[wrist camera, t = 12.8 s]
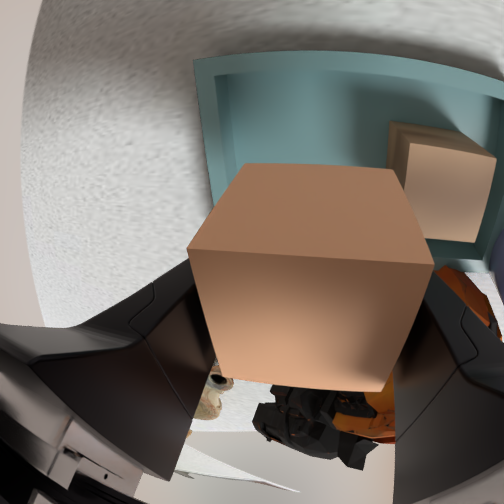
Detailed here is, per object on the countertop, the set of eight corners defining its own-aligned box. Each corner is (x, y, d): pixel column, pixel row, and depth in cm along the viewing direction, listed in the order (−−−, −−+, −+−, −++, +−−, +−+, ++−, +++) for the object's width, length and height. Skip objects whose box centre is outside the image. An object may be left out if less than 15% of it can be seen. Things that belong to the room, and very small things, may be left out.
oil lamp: (148, 387, 43) (124, 440, 35) (197, 331, 30) (159, 418, 22) (196, 412, 44) (177, 464, 36) (268, 369, 31) (247, 454, 23)
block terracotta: (373, 284, 11) (380, 391, 7) (256, 276, 12) (222, 376, 8) (393, 169, 8) (435, 264, 5) (244, 163, 9) (186, 248, 6)
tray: (510, 85, 11) (532, 92, 9) (476, 251, 18) (488, 273, 16) (210, 58, 15) (193, 60, 13) (232, 235, 22) (222, 256, 20)
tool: (287, 301, 34) (228, 424, 27) (469, 216, 15) (424, 495, 7) (338, 333, 36) (291, 449, 28) (515, 283, 16) (484, 494, 9)
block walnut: (448, 201, 16) (474, 242, 12) (382, 194, 17) (395, 235, 13) (461, 131, 13) (496, 158, 10) (389, 120, 14) (410, 143, 11)
